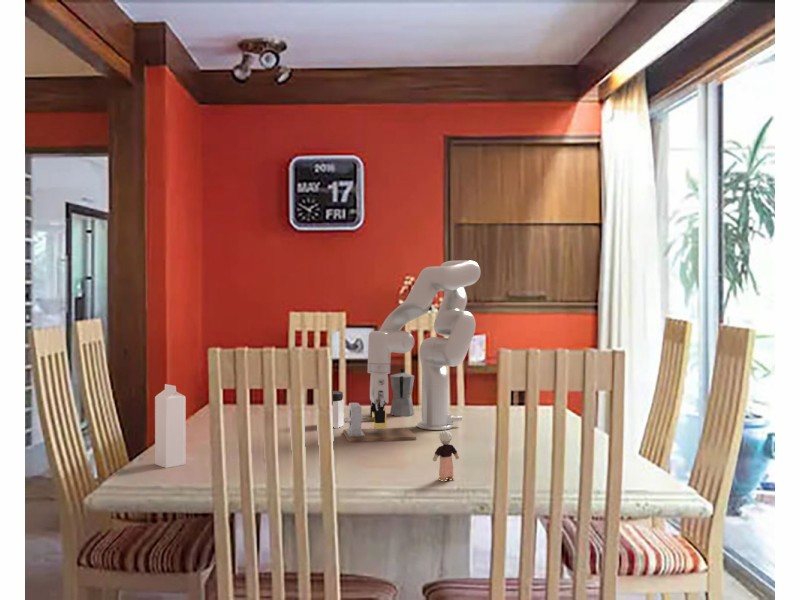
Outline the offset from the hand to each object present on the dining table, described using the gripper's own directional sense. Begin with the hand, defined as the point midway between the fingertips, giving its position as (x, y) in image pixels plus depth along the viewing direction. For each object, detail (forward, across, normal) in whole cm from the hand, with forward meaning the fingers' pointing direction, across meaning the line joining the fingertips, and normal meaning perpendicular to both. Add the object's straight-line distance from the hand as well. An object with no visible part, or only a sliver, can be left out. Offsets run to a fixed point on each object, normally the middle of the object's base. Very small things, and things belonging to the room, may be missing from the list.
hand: (377, 420), depth 241 cm
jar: (+6, +19, +13) cm, 24 cm away
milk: (+7, -28, +62) cm, 68 cm away
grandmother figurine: (+6, -56, -9) cm, 57 cm away
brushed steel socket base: (+6, 0, +7) cm, 9 cm away
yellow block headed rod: (+2, 0, +4) cm, 5 cm away
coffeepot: (+5, +37, -16) cm, 41 cm away
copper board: (+5, 0, -1) cm, 5 cm away
